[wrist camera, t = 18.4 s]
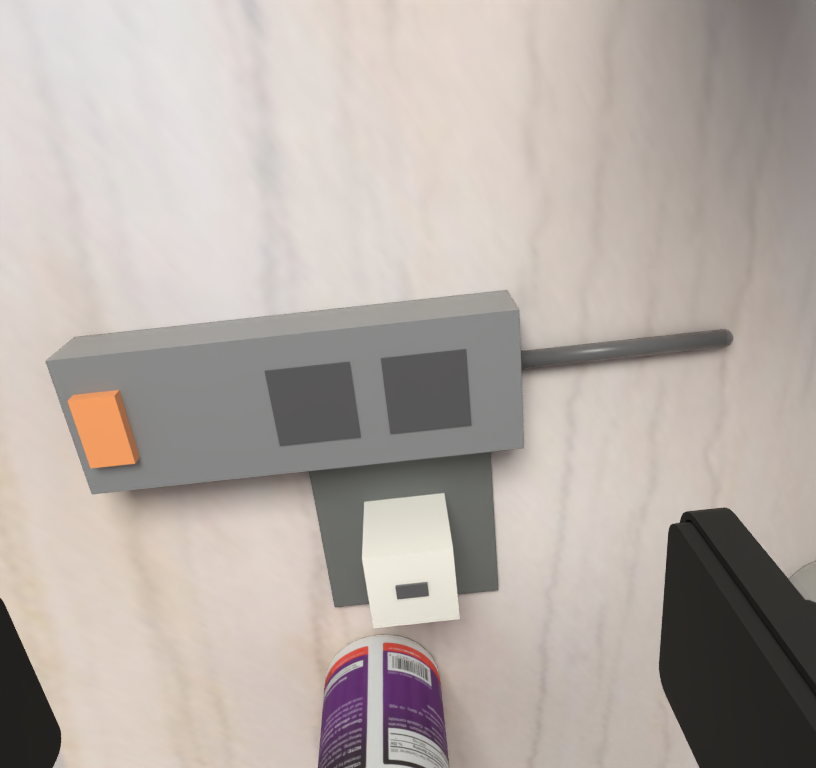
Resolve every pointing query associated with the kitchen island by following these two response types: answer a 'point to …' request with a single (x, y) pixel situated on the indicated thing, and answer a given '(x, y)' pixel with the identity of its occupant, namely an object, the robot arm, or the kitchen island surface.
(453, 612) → the block
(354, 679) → the pill bottle
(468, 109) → the kitchen island surface
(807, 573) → the coffee cup
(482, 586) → the mat
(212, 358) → the power strip
